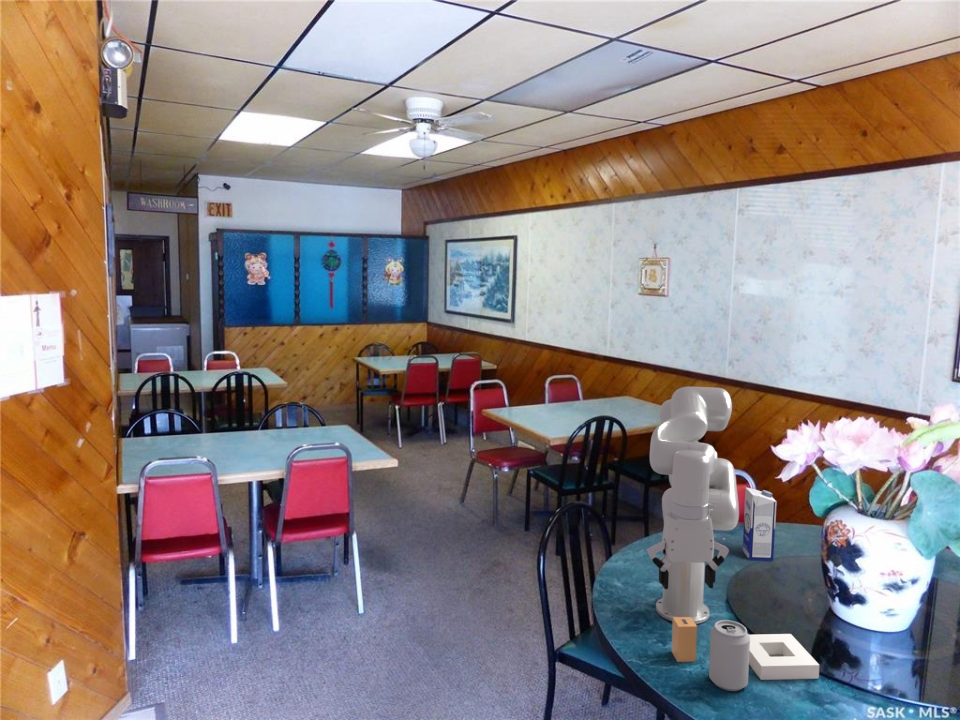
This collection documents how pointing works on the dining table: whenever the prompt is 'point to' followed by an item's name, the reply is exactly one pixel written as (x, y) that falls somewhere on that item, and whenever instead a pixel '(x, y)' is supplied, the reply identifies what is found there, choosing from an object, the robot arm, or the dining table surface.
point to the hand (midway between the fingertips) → (686, 585)
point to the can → (729, 655)
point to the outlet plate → (781, 658)
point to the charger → (684, 639)
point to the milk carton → (759, 525)
